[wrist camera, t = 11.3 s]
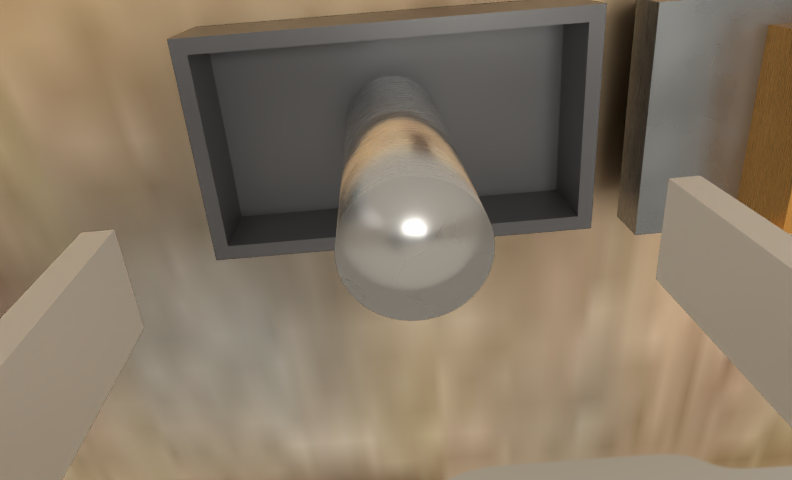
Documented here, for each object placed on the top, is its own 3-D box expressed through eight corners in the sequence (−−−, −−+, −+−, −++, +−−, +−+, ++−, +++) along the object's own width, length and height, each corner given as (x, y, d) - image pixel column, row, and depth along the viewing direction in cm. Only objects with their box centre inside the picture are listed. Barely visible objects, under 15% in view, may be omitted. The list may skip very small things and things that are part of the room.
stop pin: (352, 168, 28) (343, 327, 16) (342, 79, 26) (325, 184, 14) (439, 161, 28) (494, 313, 16) (435, 71, 26) (494, 169, 14)
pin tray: (234, 222, 30) (216, 260, 26) (194, 26, 26) (167, 39, 22) (563, 194, 30) (591, 228, 26) (573, -5, 26) (606, 3, 22)
